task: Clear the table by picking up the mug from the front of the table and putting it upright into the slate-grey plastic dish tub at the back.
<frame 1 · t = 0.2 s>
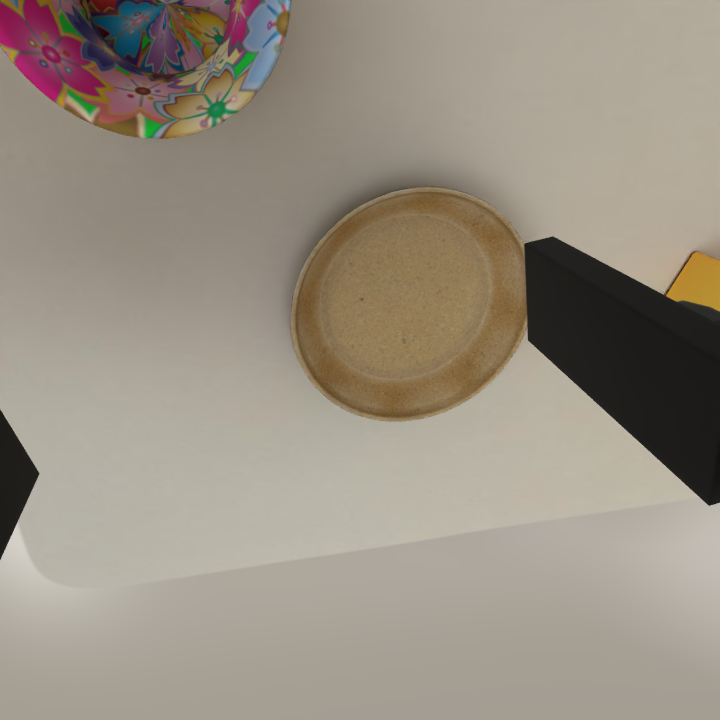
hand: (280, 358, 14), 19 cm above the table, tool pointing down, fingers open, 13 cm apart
plant saucer: (403, 299, 35), on the table
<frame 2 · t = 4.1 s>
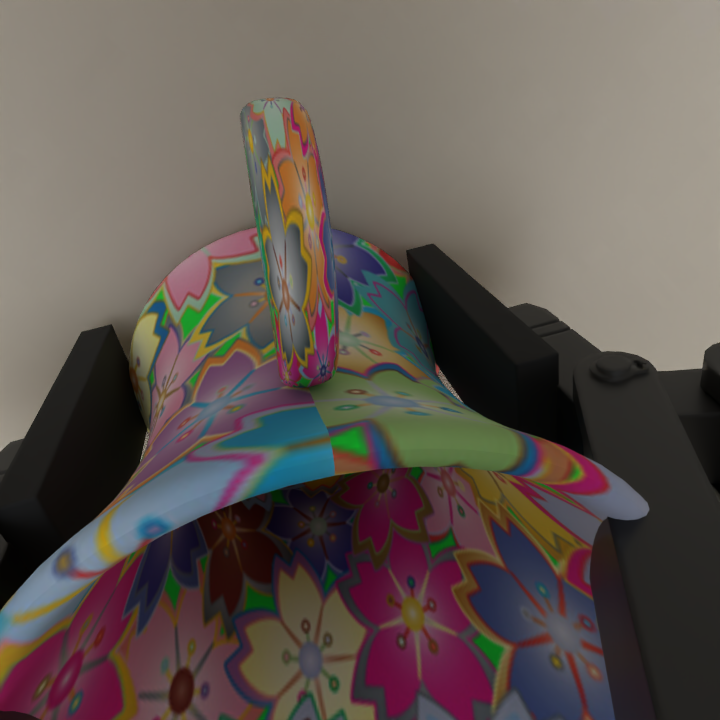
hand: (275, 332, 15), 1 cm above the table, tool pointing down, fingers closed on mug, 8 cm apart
mug: (282, 315, 16), on the table, touching gripper
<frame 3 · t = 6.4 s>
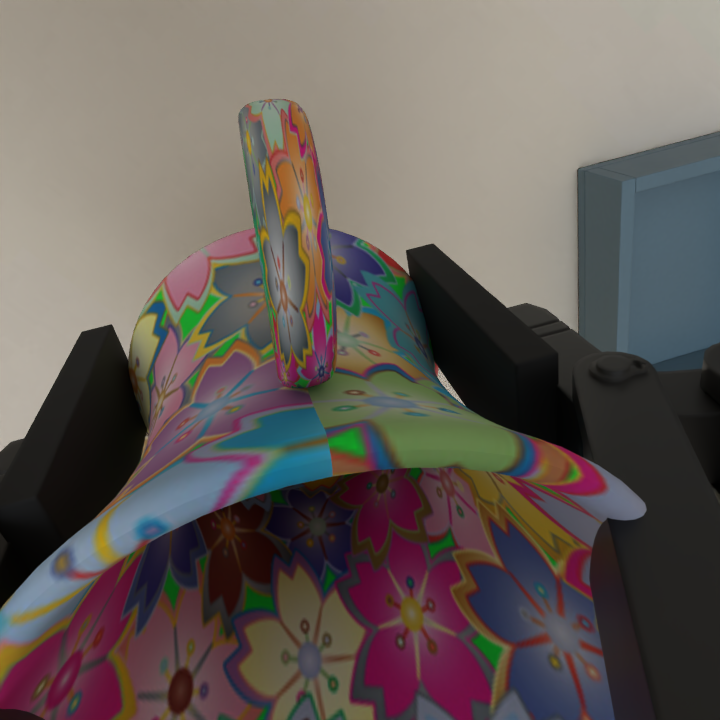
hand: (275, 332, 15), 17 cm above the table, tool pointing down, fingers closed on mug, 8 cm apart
tub: (665, 264, 37), on the table
mug: (282, 315, 16), point 16 cm above the table, touching gripper
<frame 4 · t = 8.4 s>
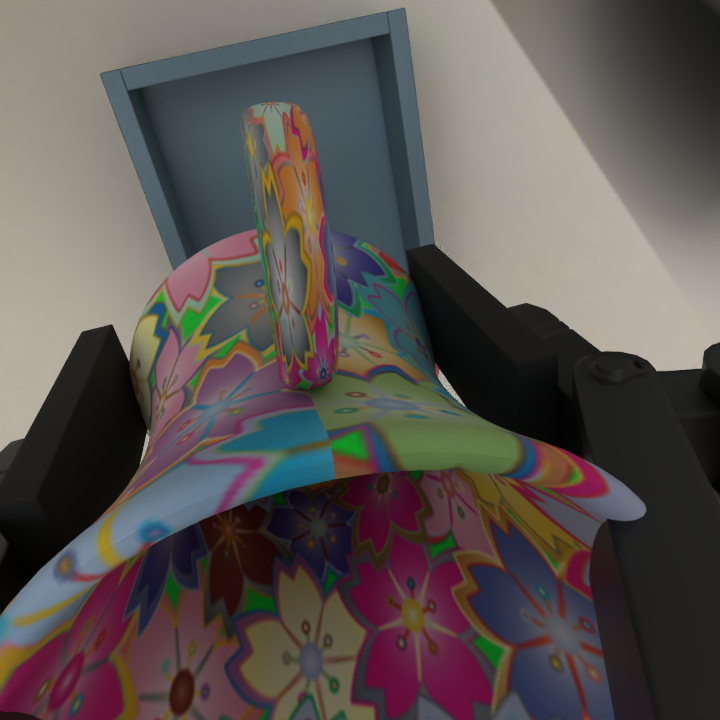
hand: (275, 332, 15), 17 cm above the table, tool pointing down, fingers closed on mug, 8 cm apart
tub: (292, 206, 30), on the table
mug: (283, 316, 16), point 16 cm above the table, touching gripper
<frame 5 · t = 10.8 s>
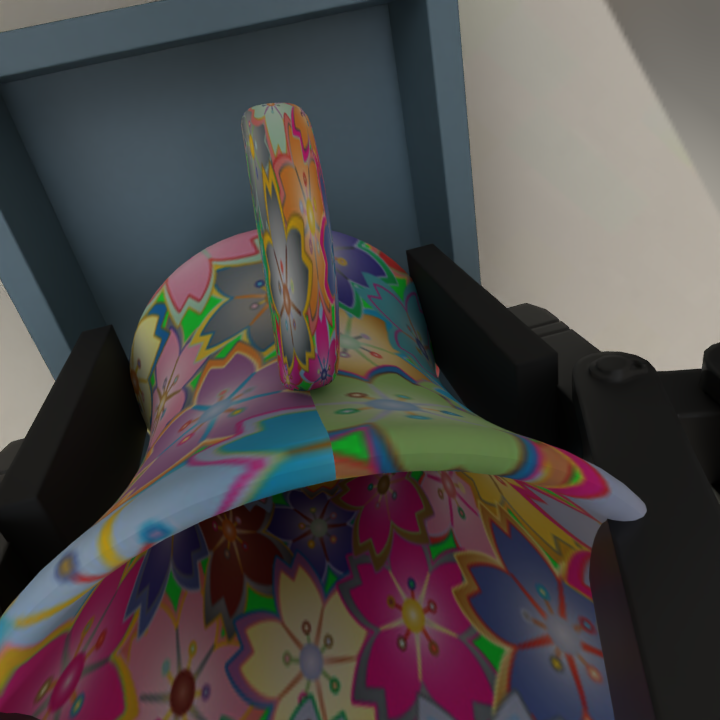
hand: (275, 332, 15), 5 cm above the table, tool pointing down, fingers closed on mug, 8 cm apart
tub: (263, 267, 20), on the table
mug: (283, 316, 16), point 4 cm above the table, touching gripper
when the fingers open (3 cm above the table, at t = 13.2 s): mug stays where it is, resting on tub.
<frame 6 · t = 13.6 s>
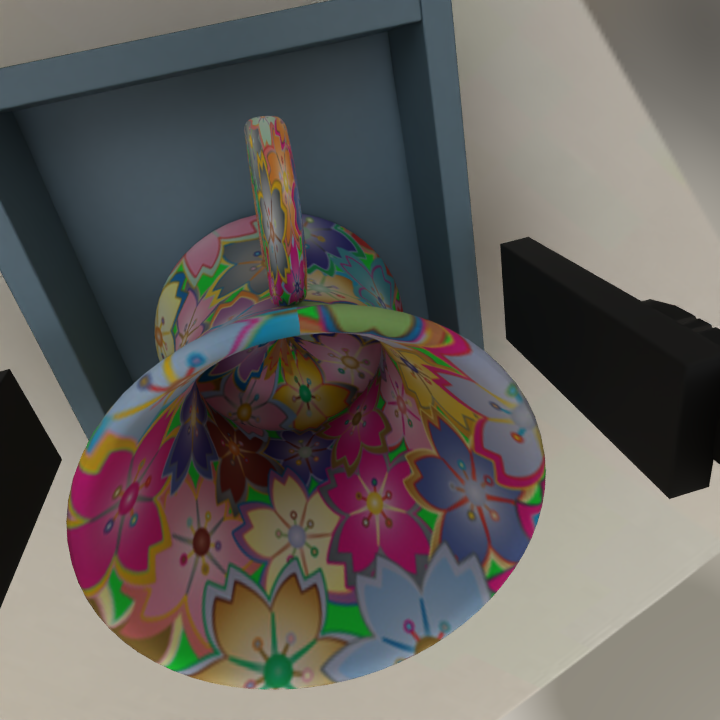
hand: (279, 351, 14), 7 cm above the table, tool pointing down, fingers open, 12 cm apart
tub: (267, 284, 20), on the table
mug: (276, 288, 20), point 1 cm above the table, touching tub
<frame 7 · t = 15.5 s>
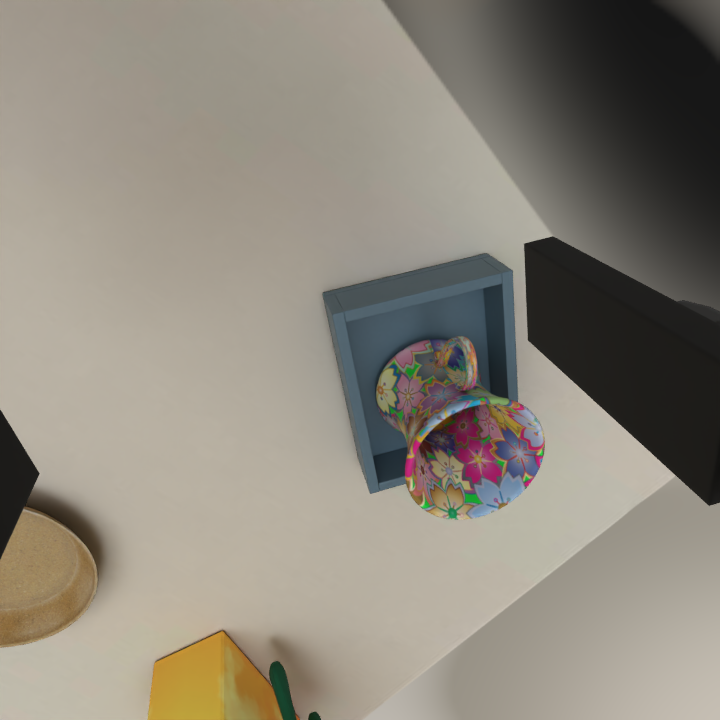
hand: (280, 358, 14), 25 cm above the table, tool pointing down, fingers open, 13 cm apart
tub: (418, 364, 45), on the table
mug: (424, 366, 44), point 1 cm above the table, touching tub
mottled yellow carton: (254, 679, 58), on the table
plant saucer: (4, 554, 45), on the table
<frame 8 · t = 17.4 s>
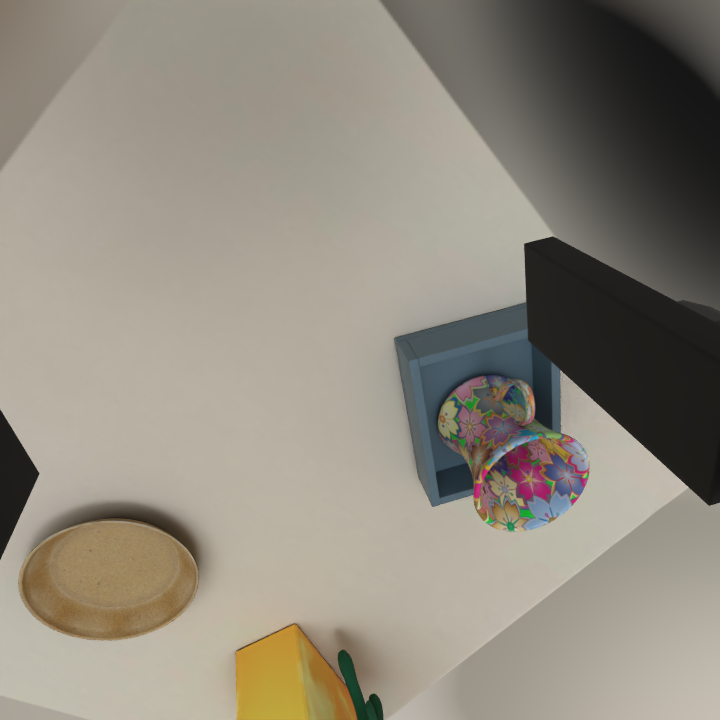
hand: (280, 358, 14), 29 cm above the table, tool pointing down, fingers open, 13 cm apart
tub: (472, 394, 52), on the table
mug: (478, 397, 51), point 1 cm above the table, touching tub
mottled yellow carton: (319, 665, 65), on the table
plant saucer: (117, 561, 52), on the table
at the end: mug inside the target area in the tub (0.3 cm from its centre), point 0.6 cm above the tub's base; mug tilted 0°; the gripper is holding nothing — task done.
